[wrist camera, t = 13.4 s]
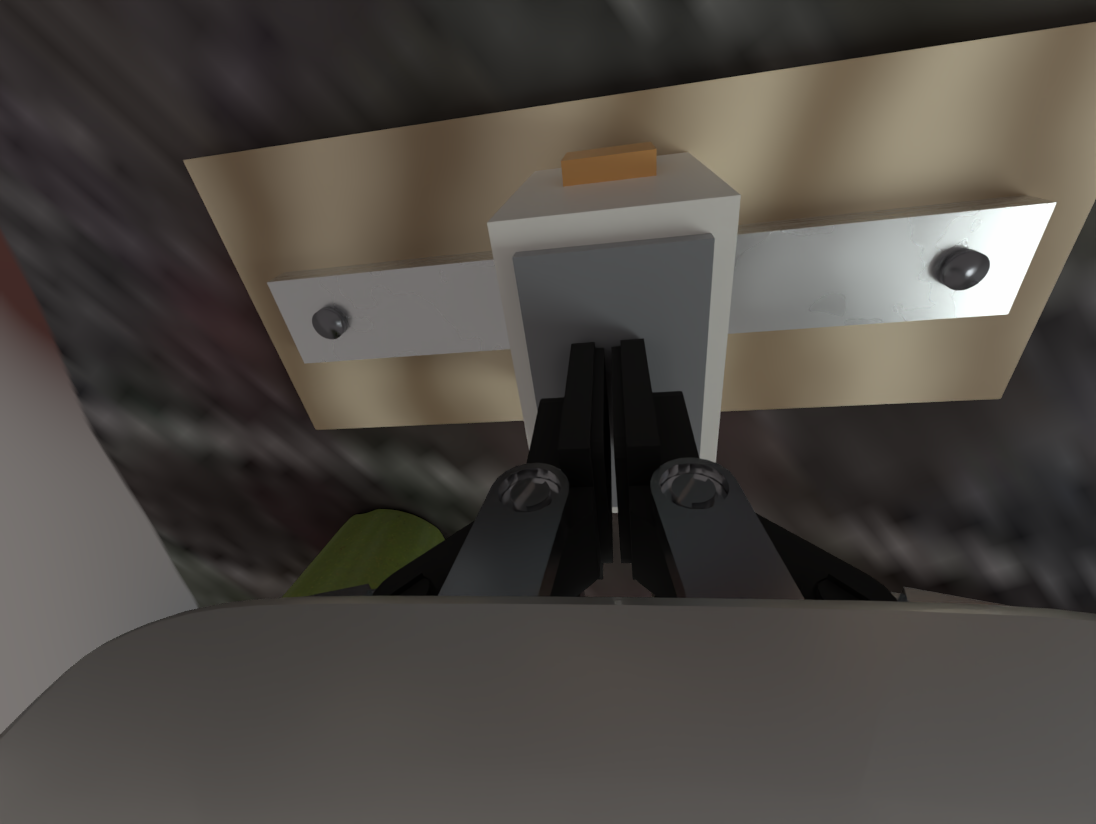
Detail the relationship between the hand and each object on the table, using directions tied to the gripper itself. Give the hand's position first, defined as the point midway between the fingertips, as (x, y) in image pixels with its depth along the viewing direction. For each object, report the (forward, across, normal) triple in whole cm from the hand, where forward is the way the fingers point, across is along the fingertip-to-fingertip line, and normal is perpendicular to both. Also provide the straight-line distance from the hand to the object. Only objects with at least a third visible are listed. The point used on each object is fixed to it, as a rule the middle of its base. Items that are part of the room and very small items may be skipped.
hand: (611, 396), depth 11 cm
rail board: (+9, 0, 0) cm, 9 cm away
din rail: (+9, 0, 0) cm, 9 cm away
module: (+8, 0, 0) cm, 8 cm away
